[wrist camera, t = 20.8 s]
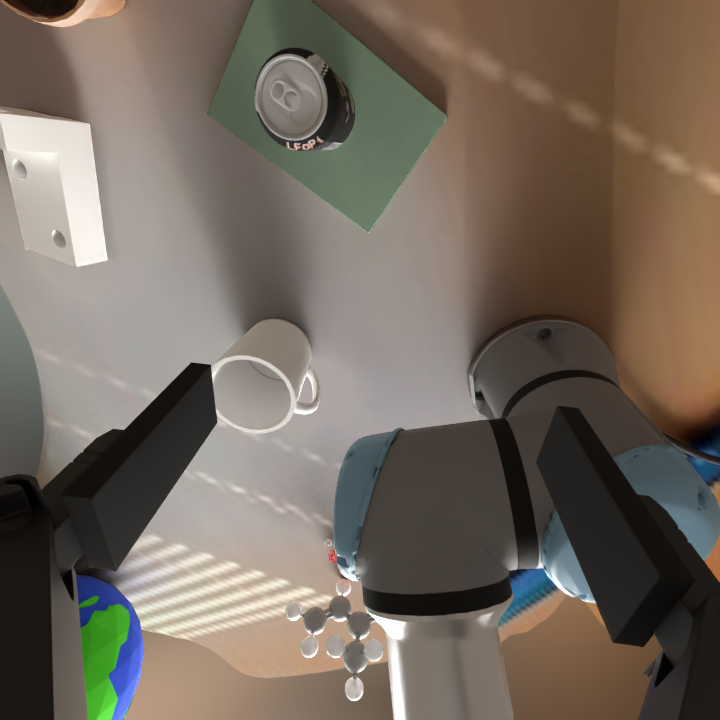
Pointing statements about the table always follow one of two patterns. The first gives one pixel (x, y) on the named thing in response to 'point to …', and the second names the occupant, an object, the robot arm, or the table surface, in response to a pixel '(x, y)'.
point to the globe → (108, 648)
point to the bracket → (54, 185)
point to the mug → (264, 377)
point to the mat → (371, 98)
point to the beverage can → (303, 102)
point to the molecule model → (335, 645)
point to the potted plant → (64, 10)
